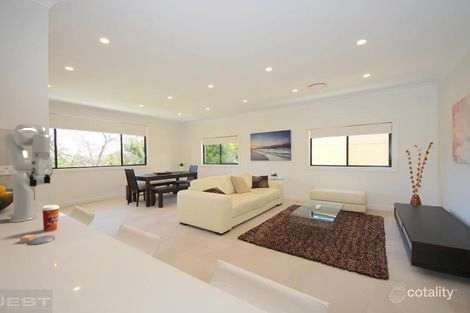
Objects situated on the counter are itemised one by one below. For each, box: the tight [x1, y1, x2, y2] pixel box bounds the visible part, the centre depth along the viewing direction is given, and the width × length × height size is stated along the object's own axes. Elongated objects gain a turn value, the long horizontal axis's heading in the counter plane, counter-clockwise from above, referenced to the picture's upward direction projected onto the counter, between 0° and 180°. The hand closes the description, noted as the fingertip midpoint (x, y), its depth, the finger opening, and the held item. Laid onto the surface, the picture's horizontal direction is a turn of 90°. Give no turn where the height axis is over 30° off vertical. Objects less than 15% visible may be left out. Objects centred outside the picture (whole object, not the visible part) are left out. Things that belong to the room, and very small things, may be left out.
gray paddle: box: [19, 234, 56, 246], centre depth 106 cm, size 14×10×2 cm
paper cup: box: [41, 204, 60, 233], centre depth 120 cm, size 8×8×14 cm
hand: (40, 184), depth 120 cm, fingers open, 9 cm apart
